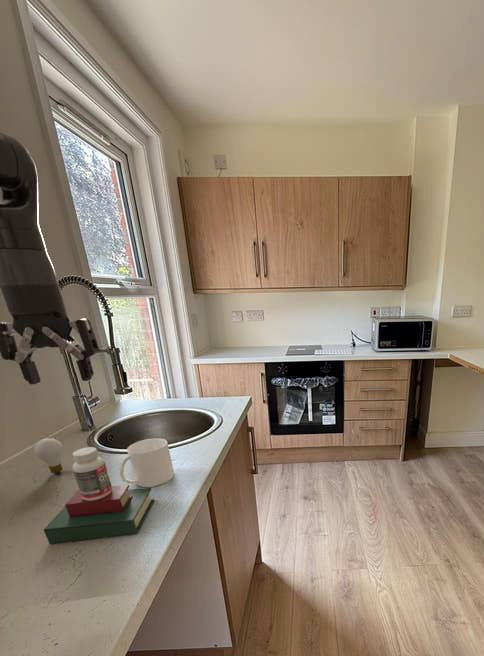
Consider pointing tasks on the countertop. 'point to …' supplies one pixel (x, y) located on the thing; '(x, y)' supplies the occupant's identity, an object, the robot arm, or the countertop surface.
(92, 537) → the hardback
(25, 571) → the countertop surface
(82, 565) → the countertop surface
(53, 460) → the light bulb
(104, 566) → the countertop surface
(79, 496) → the pocket book
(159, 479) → the mug
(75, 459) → the pill bottle
